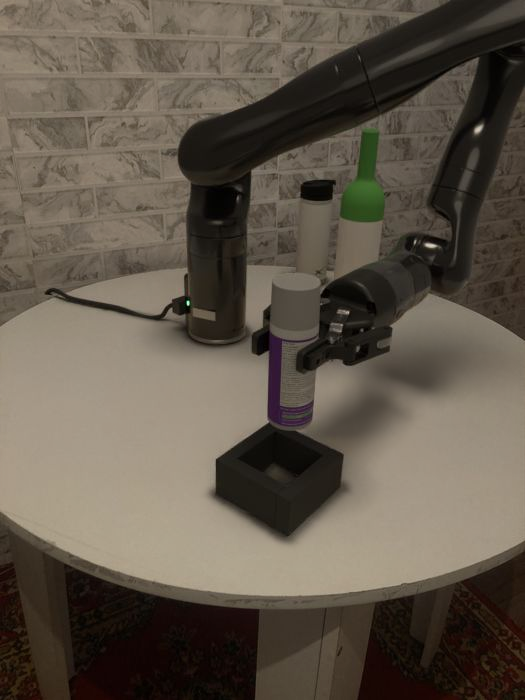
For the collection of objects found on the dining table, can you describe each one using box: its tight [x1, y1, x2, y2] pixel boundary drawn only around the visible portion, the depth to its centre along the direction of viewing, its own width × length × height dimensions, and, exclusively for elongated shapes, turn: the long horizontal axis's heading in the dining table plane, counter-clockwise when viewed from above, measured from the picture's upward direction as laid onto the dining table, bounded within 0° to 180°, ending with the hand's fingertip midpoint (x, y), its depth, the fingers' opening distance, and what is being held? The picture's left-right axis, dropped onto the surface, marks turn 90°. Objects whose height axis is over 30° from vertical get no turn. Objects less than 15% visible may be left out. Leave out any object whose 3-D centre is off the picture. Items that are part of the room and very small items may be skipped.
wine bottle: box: [333, 128, 386, 281], centre depth 106 cm, size 8×8×30 cm
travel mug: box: [294, 178, 337, 285], centre depth 115 cm, size 6×7×20 cm
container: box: [266, 272, 322, 431], centre depth 58 cm, size 5×5×15 cm
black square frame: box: [215, 421, 345, 537], centre depth 63 cm, size 10×10×4 cm
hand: (276, 354), depth 55 cm, fingers closed on container, 4 cm apart
